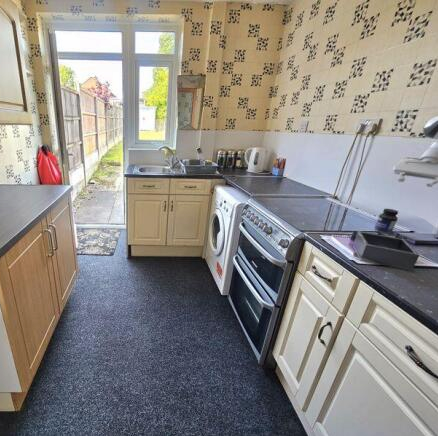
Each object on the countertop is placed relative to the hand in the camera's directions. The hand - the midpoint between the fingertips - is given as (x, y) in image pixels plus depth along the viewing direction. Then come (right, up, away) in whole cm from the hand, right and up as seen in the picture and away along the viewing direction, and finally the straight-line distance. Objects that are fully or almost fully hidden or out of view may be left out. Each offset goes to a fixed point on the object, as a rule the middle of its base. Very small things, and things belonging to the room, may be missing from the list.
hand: (414, 183), depth 110 cm
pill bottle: (-12, -23, +3) cm, 26 cm away
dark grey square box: (-34, -31, -19) cm, 50 cm away
